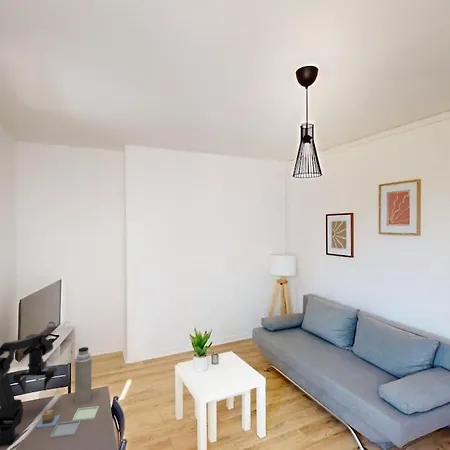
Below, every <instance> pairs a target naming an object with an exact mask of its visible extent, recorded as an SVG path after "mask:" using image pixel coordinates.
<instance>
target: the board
mask: <svg viewBox="0 0 450 450" xmlns="http://www.w3.org/2000/svg"><path fill="white" fill-rule="evenodd" d="M60 418H61V414H59V415H55V418H54V420H53V422H52V423H47V424H42V418H41V419H40V421H39V422H38V424H37V425H36V427H35V429H46V428H52V427H54V428H55V427H56V425H57V424H58V423H59V420H60Z"/></svg>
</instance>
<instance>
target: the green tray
mask: <svg viewBox="0 0 450 450" xmlns="http://www.w3.org/2000/svg"><path fill="white" fill-rule="evenodd" d="M99 407H100V406H99V405H96V406H89V407H87V406H86V407H79V408H77V410H76V412H75V414H74V416H73V417H72V420H71V421H78V420H81V421H89V420H95V419H96V416H97V414H98V411H99Z"/></svg>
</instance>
